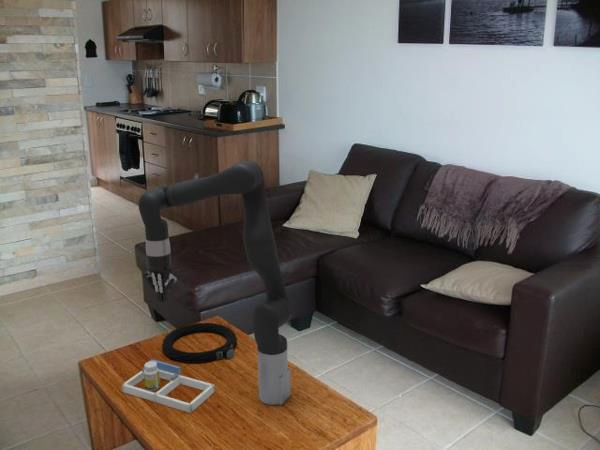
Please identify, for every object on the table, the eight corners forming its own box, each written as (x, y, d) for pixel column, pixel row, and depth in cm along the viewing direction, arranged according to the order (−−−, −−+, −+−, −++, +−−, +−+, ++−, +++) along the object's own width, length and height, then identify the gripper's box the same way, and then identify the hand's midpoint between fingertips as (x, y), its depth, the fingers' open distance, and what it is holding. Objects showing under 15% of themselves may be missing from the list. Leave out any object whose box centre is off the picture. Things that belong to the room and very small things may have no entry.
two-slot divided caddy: (216, 390, 189) (215, 376, 187) (190, 413, 177) (189, 398, 175) (150, 371, 200) (149, 358, 199) (122, 391, 188) (120, 378, 187)
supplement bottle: (154, 381, 194) (152, 358, 192) (163, 386, 191) (161, 363, 189) (142, 387, 191) (140, 364, 188) (151, 392, 188) (149, 369, 185)
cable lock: (201, 314, 236) (256, 335, 218) (201, 323, 237) (257, 344, 219) (145, 340, 215) (202, 365, 197) (146, 350, 216) (203, 375, 198)
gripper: (182, 251, 186) (185, 301, 191) (149, 245, 191) (153, 294, 196) (167, 258, 179) (171, 310, 184) (134, 252, 185) (138, 302, 190)
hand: (162, 301), depth 190 cm, fingers closed
